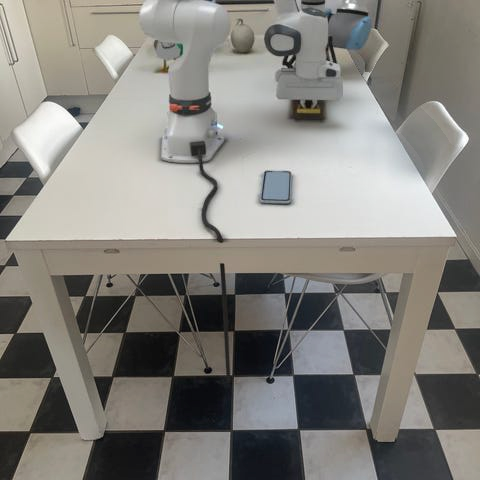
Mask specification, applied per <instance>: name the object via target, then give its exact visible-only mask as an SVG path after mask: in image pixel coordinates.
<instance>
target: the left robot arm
mask: <svg viewBox="0 0 480 480" xmlns="http://www.w3.org/2000/svg"><path fill="white" fill-rule="evenodd" d="M273 3H274V8H275V11H276V20H275V21H274V22H273V23H272V24H271V25H269V27H268V28H267V29H266V31H265V33H264V36H263V41H264V47H265V48H266V50H267V51H268V52H269V53H270V54H271V55H273V56H275V57H284V56H289V57H290V56H291V57H292V56H293V55H296V68H287V67H280V68H279V69H277V70H276V71H275V75H274V76H275V82H276V83H277V84H276V90H275V92H276V93H275V97H276V98H277V99H278V100H290V101H291V100H300V103H301V105H302V107H303V108H304V109H313V108H314V107H315V105H316V104H317V100H326V101H341V100H342V99H343V96H344V85H343V79H342V75H341V74H342V73H341V71H342V70H341V66H340V65H339V64H338V63H337V64H336V63H333V61H331V60H330V61H331V62H330V61H327V60H326V46H327V43H328V19H327V16H326V14H325V13H324V12H322V11H321V10H318V9H314V8H304V9H302V10H301V9H299V6H298V3H297V0H273ZM138 22H139V26H140V30H141V31H142V33H143V35H144V36H146V37H148V38H149V39H152V40H154V41H155V40H158V41H161V42H169V43H178V44H183V54H182V55H180V56H179V57H177V58H176V59H175V60H174V59H173V61H172V62H171V63H170V64H169V66H168V67H169V69H167V74H168V75H167V77H168V84H169V95H168V104H169V110H168V111H167V112H166V117H167V128H165V134H163V135H162V136H161V137H162V138H161V153H160V158H161V160H163V161H165V162H170V163H178V164H179V163H180V164H181V163H182V164H195V163H198V167H199V171H200V174H201V175H202V176H203V177H204V179H206V180H208V181H210V182H211V183H212V185H213V187H212V189H211V190H210V192H209V193H208V194H207V196H206V197H205V199H204V201H203V205H202V208H201V220H202V223H203V225H204V226H205V227H206V228H207V229H209V230H210V231H212V232H213V233H214V234H215V236H216V237H217V241H218V243H220V244H223V243H224V239H223V236H222V234H221V231H220V230H219V229H218V227H216V226H215V225H213V224H211V223H210V222H209V221H208V219H207V208H208V205H209V202H210V200H211V198H212V197H213V196H214V195H215V194H216V192H217V190H218V181H217V180H216V179H215V178H214V177H212V176H210V175H208V174H207V172H205V169H204V162H208V161H210V160H211V159H212V158H213V157H214V155H215V154H216V153H217V151H218V150H219V149H220V148H221V146H222V145H223V144H224V142H225V139H226V138H225V136H224V135H222V134H220V133H219V128H220V129H223V128H224V127H223V125H221V124H219V119H218V113H217V112H216V111H215V110H214V109H213V108H212V93H211V92H210V84H209V83H210V82H209V81H210V80H209V79H210V77H209V75H210V74H209V72H210V65H211V64H210V63H211V59H212V57H213V55H214V53H215V52H216V50H217V49H218V48H219V47H220V46H221V45H222V44H223V43H225V42H226V40H227V38H228V37H229V35H230V33H231V26H232V24H231V23H232V22H231V17H230V14H229V12H228V10H227V8H226V7H225V6H223V5H222V4H219V3H217V2H216V3H213V2H210V1H203V0H145V1H144V2H143V4H142V5H141V7H140V10H139V13H138ZM305 100H312V101H313V104H312V105H311V106H306V105H305ZM219 270H220V272H219V273H220V285H221V286H220V287H221V300H222V320H223V336H224V337H223V339H224V358H225V374H226V377H225V378H226V383H227V384H230V383H231V362H230V361H231V360H230V344H229V343H230V340H229V339H230V338H229V318H228V317H229V316H228V301H227V300H228V299H227V282H226V267H225V263H223V262H220V263H219Z"/></svg>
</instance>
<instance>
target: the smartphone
mask: <svg viewBox="0 0 480 480" xmlns="http://www.w3.org/2000/svg"><path fill="white" fill-rule="evenodd" d="M292 175H293V173H292V171H290V170H267V169H266V170H264V171H263V174H262V182H261V190H260V197H259V199H260V200H259V201H260V203H263V204H283V205H284V204H285V205H286V204H290V203H291V198H292V180H293V179H292Z"/></svg>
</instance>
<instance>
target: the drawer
mask: <svg viewBox="0 0 480 480" xmlns="http://www.w3.org/2000/svg"><path fill="white" fill-rule="evenodd" d="M312 104H313V101H312V100H305V105H306V106H311V105H312ZM323 110H324V100H317V104H316V105H315V107H314V108H313V109H304V108H303V107H302V105H301V103H300V100H293V118H292V119H300V118H323Z"/></svg>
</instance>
